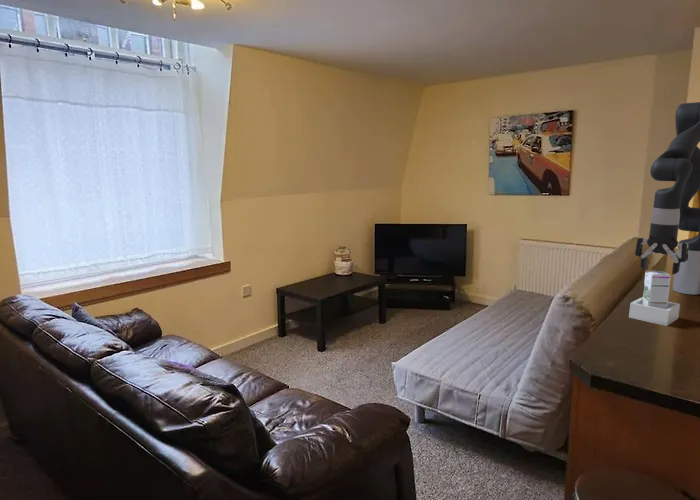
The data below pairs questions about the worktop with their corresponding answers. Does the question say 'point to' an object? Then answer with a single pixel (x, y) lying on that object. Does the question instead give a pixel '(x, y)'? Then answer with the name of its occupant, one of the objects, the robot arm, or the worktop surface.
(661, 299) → the syrup box
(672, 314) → the bin
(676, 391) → the worktop surface
